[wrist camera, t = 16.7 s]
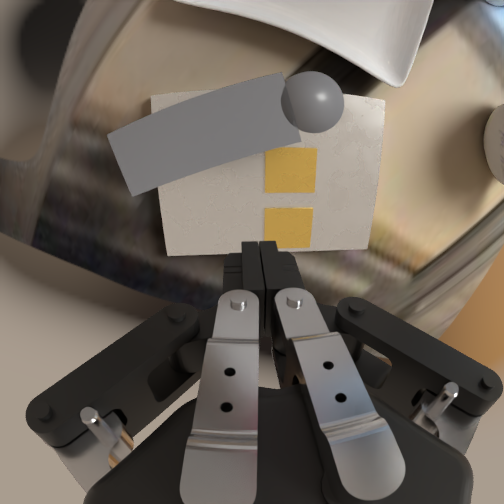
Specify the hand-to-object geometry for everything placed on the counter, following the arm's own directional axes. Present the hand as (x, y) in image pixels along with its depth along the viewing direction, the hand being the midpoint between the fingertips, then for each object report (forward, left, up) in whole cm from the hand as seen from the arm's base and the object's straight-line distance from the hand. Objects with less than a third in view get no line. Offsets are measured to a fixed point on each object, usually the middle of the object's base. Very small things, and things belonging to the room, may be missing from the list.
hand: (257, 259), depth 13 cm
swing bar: (+1, -5, -11) cm, 12 cm away
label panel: (-2, 0, -15) cm, 15 cm away
